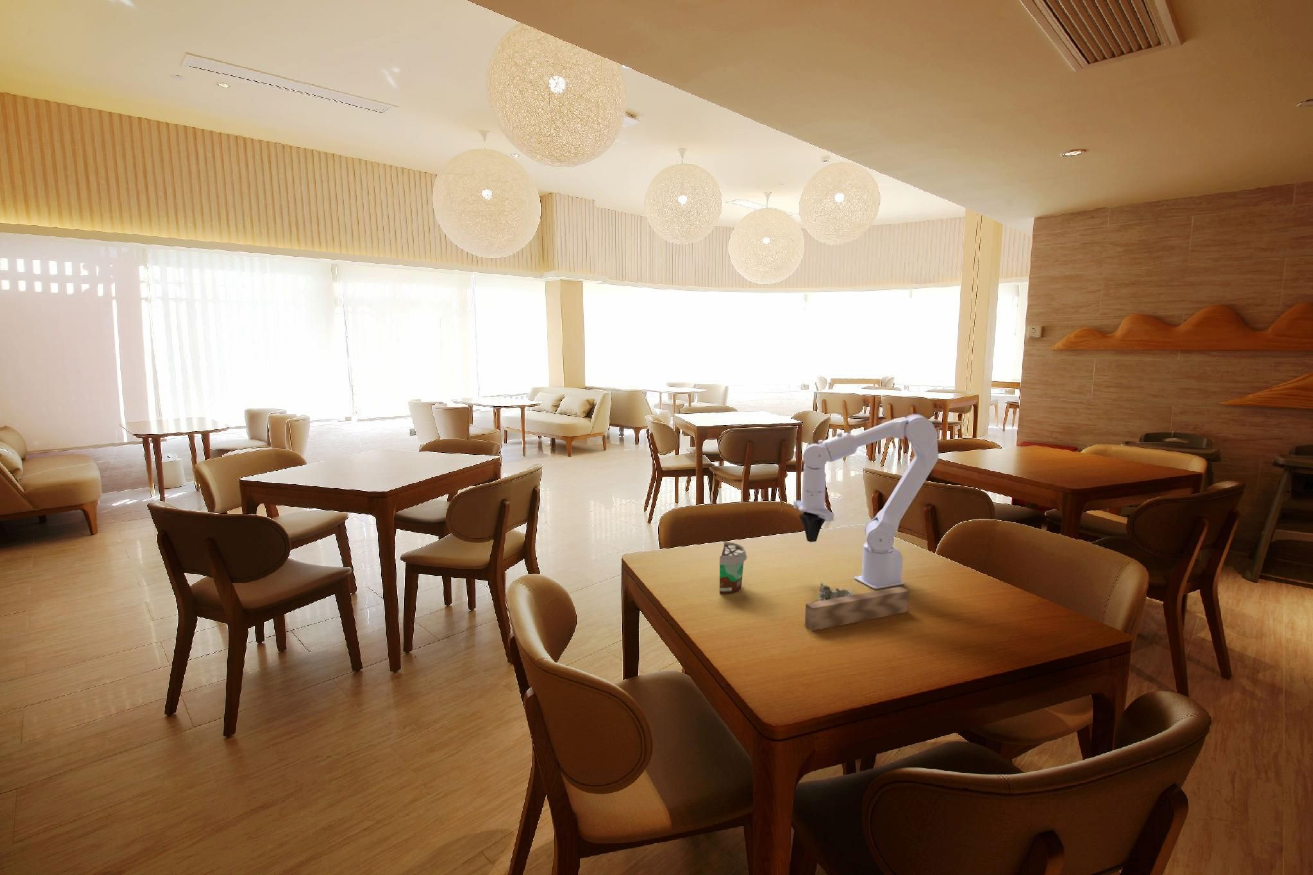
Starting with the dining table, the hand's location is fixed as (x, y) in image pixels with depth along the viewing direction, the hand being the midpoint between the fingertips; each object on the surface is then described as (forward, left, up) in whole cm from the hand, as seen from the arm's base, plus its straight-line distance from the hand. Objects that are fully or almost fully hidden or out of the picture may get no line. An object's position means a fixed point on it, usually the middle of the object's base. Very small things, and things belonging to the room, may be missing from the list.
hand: (811, 541), depth 154 cm
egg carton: (+7, +19, -10) cm, 22 cm away
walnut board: (+6, +26, -9) cm, 28 cm away
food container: (+23, 0, -10) cm, 25 cm away
